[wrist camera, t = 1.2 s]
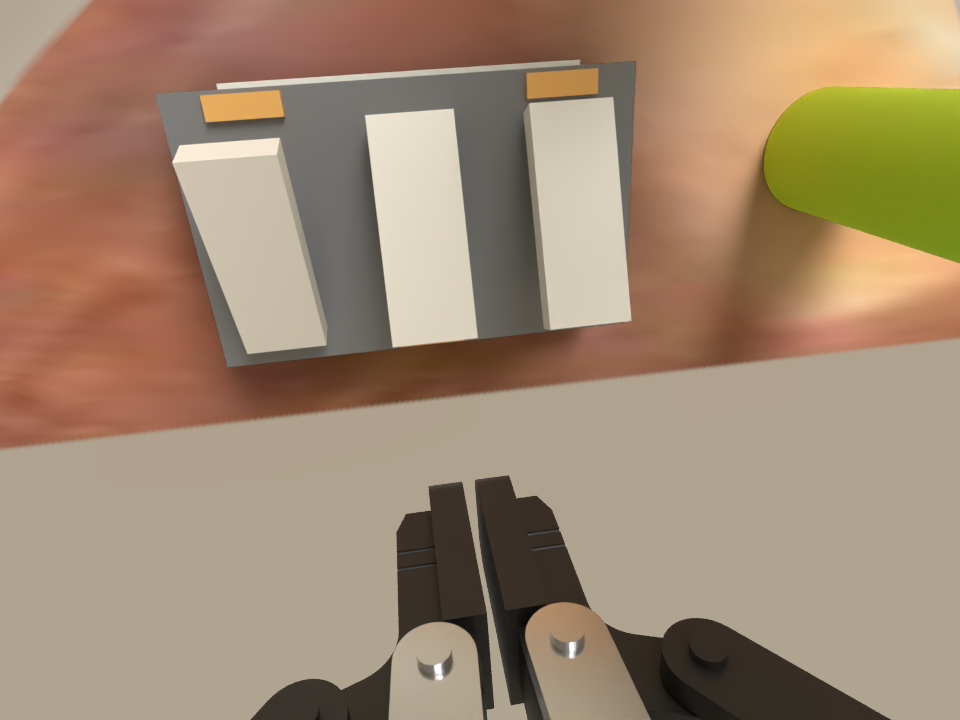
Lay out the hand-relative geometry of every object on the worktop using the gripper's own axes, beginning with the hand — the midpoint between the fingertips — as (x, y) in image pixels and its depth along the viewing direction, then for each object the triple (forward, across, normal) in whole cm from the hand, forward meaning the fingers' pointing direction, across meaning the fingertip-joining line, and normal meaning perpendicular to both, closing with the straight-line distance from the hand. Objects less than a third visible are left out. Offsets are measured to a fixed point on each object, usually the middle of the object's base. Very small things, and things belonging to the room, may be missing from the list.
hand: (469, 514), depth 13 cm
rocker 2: (+13, 0, -3) cm, 14 cm away
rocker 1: (+13, +6, -3) cm, 15 cm away
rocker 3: (+13, -6, -3) cm, 15 cm away
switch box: (+19, 0, -3) cm, 19 cm away
